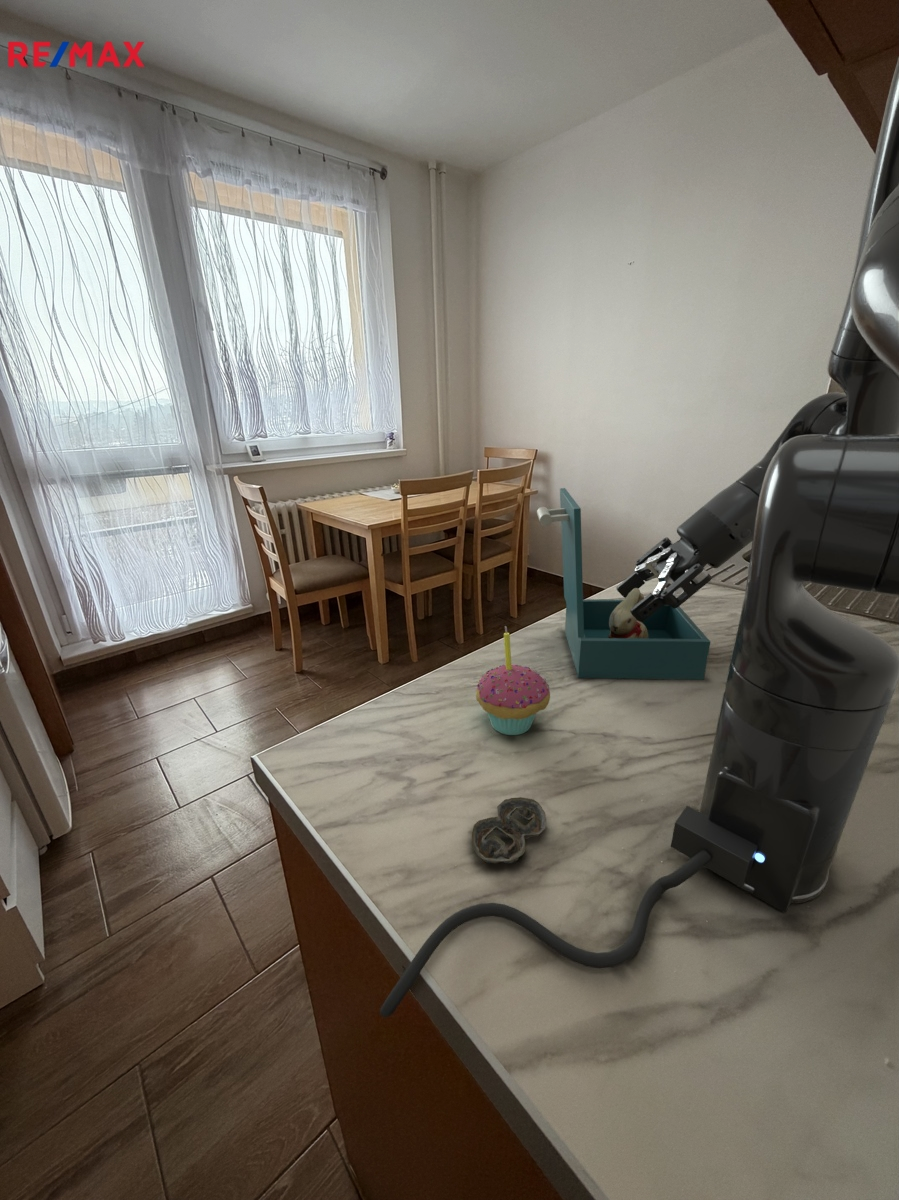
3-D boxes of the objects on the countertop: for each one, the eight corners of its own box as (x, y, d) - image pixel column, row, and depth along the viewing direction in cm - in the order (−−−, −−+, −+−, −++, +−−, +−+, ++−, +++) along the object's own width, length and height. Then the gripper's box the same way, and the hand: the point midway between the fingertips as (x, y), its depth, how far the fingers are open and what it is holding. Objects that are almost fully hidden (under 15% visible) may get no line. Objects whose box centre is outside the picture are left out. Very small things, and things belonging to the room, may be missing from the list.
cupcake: (466, 711, 60) (463, 625, 56) (527, 696, 63) (529, 612, 58) (494, 754, 53) (494, 658, 48) (562, 735, 55) (568, 642, 51)
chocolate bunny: (594, 644, 74) (599, 583, 70) (639, 636, 76) (647, 576, 72) (614, 661, 69) (620, 596, 65) (662, 653, 71) (671, 589, 67)
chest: (668, 632, 78) (673, 599, 76) (703, 679, 65) (710, 641, 63) (564, 631, 80) (566, 599, 78) (578, 677, 67) (580, 640, 64)
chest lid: (565, 487, 71) (533, 491, 72) (580, 508, 58) (541, 512, 58) (569, 596, 78) (540, 598, 78) (584, 637, 64) (549, 639, 65)
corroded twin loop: (558, 823, 44) (559, 815, 43) (503, 883, 39) (503, 873, 38) (514, 795, 47) (514, 787, 47) (458, 846, 42) (457, 838, 42)
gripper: (687, 496, 70) (600, 571, 76) (730, 518, 57) (621, 607, 62) (719, 531, 71) (631, 602, 77) (769, 560, 58) (658, 644, 64)
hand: (627, 604), depth 70 cm, fingers open, 8 cm apart
